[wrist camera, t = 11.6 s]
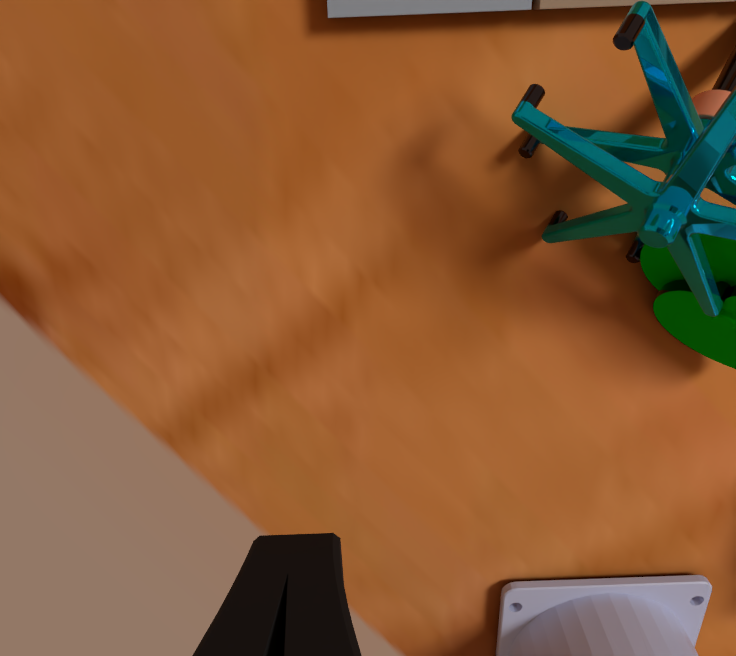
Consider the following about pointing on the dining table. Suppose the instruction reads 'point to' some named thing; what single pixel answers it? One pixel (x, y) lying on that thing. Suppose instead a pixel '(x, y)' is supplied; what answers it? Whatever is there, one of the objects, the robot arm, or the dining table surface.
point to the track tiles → (471, 6)
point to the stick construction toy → (662, 189)
